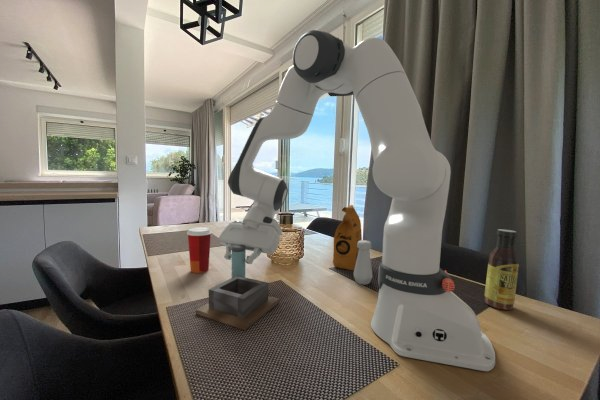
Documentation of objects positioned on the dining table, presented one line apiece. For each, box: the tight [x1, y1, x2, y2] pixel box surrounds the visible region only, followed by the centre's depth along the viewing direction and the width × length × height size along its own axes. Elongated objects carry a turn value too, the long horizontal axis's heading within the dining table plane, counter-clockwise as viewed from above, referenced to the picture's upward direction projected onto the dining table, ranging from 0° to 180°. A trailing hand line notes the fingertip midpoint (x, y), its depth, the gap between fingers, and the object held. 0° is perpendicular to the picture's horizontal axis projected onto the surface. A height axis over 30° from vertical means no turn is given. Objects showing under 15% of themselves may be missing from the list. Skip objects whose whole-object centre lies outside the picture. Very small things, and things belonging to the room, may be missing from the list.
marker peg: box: [231, 245, 247, 278], centre depth 79 cm, size 4×4×11 cm
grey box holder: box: [195, 276, 280, 331], centre depth 64 cm, size 14×14×6 cm
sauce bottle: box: [484, 228, 520, 311], centre depth 68 cm, size 7×6×20 cm
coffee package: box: [332, 204, 363, 271], centre depth 98 cm, size 10×12×22 cm
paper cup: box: [186, 227, 213, 274], centre depth 88 cm, size 8×8×14 cm
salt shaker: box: [353, 239, 373, 286], centre depth 82 cm, size 6×6×13 cm
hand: (237, 260), depth 78 cm, fingers open, 6 cm apart
